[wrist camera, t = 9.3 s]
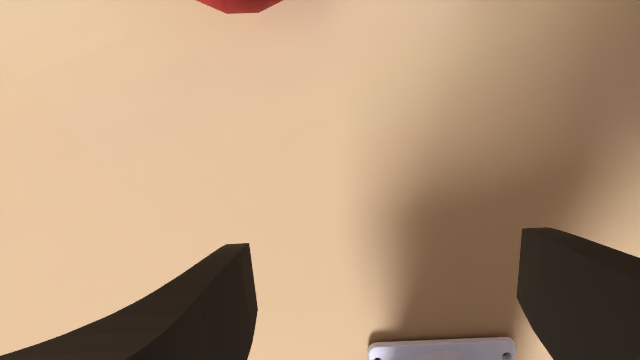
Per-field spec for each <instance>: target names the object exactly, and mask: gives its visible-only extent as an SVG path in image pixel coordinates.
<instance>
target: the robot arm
mask: <svg viewBox="0 0 640 360" xmlns="http://www.w3.org/2000/svg"><path fill="white" fill-rule="evenodd" d="M517 299H518V301H519V303H520V305H521V307H522V309H523V311H524V313H525V315H526V317H527V319H528V321H529V323H530V325H531V327H532V329H533V330H534V332H535V333H536V335H537V336H538V338H539V339H540V341H541V342H542V344H543V345H544V347H545V348H546V349H547V351H548V352H549V354H550V355H551V357H552V358H553V359H554V360H640V258H638V257H635V256H632V255H630V254H627V253H624V252H621V251H618V250H615V249H612V248H610V247H607V246H604V245H601V244H598V243H596V242H593V241H590V240H587V239H584V238H582V237H579V236H576V235H573V234H570V233H566V232H563V231H560V230H556V229H552V228H547V227H545V228H526V229H522V239H521V251H520V264H519V276H518V289H517ZM257 311H258V308H257V300H256V292H255V285H254V277H253V270H252V262H251V254H250V247H249V243H243V244H226V245H224V246H222V247H221V248H219V249H218V250H216V251H214V252H213V253H211V254H210V255H209V256H207V257H206V258H204V259H203V260H201V261H200V262H199V263H197V264H196V265H194V266H193V267H191V268H190V269H188V270H187V271H185V272H184V273H183V274H181V275H180V276H178V277H176V278H175V279H173V280H172V281H170V282H168V283H167V284H165V285H164V286H162V287H161V288H159V289H157V290H156V291H154V292H153V293H151V294H149V295H147V296H146V297H144V298H142V299H140V300H139V301H137V302H135V303H133V304H131V305H129V306H127V307H125V308H123V309H121V310H119V311H117V312H115V313H113V314H111V315H109V316H107V317H105V318H102V319H100V320H97V321H95V322H93V323H90V324H88V325H86V326H83V327H81V328H79V329H76V330H74V331H71V332H69V333H67V334H64V335H61V336H59V337H56V338H53V339H50V340H48V341H45V342H42V343H39V344H36V345H33V346H30V347H27V348H24V349H21V350H18V351H15V352H12V353H8V354H5V355H2V356H0V360H247V358H248V355H249V352H250V348H251V345H252V342H253V336H254V330H255V324H256V317H257ZM507 352H508V354H506V355H503V354H504V353H507ZM515 357H516V344H515V343H514V341H513V340H512V339H511V338H509V337H490V338H466V339H443V340H419V341H395V342H376V343H372V344H371V345H370V346H369V347H368V360H374V359H375V358H381V359H380V360H515Z"/></svg>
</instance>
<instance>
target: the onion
mask: <svg viewBox="0 0 640 360" xmlns="http://www.w3.org/2000/svg"><path fill="white" fill-rule="evenodd" d="M197 1H199V2H201V3H204V4H206V5H208V6H210V7H213V8H215V9H217V10H220V11H222V12H224V13H227V14H232V13H259V12H261V11H263V10H265V9H267V8H269V7H271V6H273V5H275V4H277V3H279V2H281V1H283V0H197Z"/></svg>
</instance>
